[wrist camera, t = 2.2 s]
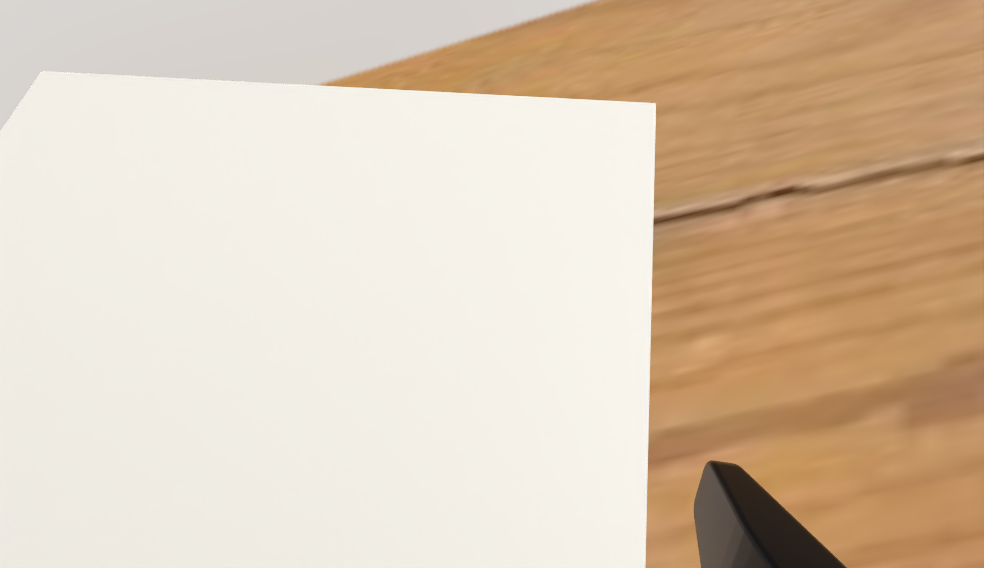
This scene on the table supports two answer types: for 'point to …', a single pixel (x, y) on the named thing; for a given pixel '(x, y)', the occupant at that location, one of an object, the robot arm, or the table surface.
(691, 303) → the table surface
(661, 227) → the table surface
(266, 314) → the cream block
